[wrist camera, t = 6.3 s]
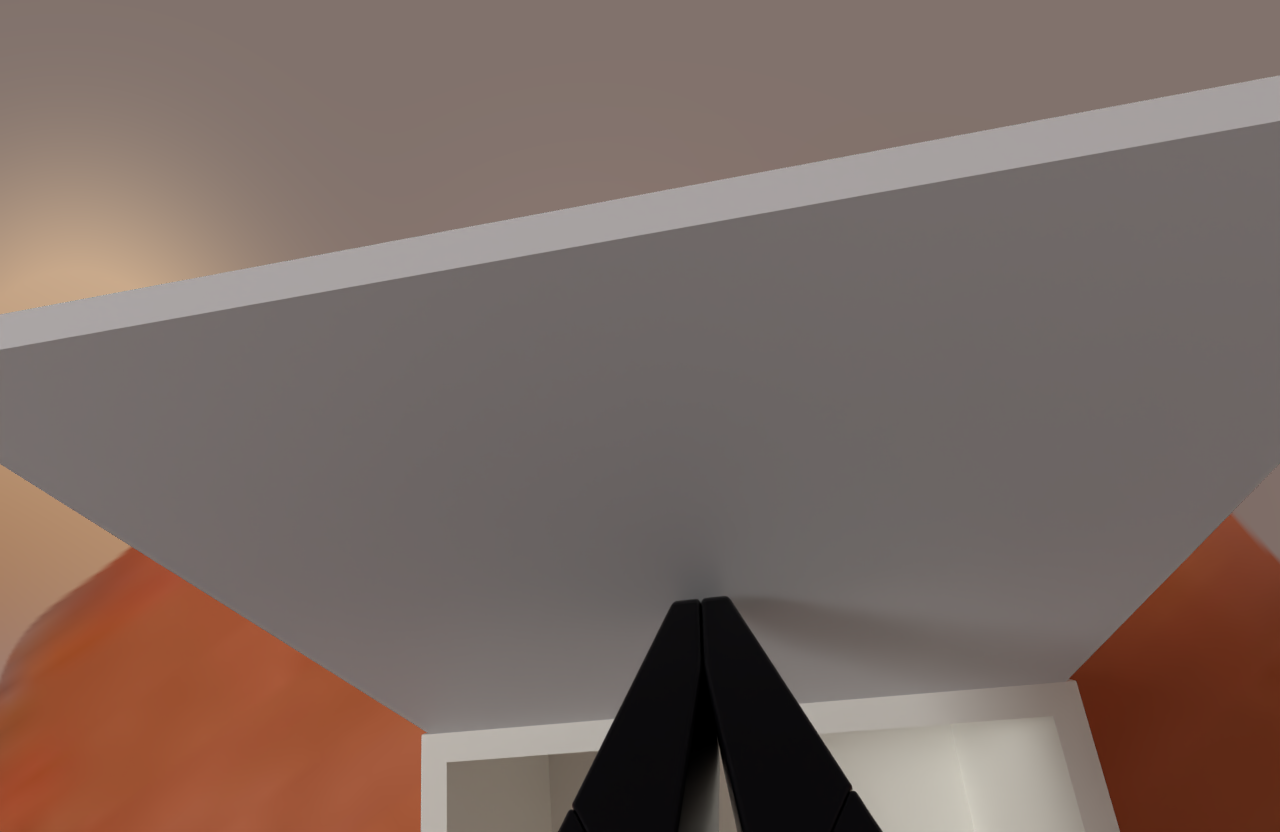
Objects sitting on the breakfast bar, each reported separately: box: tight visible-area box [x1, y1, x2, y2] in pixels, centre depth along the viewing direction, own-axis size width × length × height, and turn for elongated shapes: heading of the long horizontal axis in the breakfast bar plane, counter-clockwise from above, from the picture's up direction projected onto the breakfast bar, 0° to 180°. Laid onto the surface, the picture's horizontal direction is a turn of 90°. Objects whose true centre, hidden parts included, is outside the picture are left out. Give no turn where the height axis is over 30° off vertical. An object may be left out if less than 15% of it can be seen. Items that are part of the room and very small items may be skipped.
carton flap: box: [0, 76, 1280, 734], centre depth 9 cm, size 12×14×1 cm
